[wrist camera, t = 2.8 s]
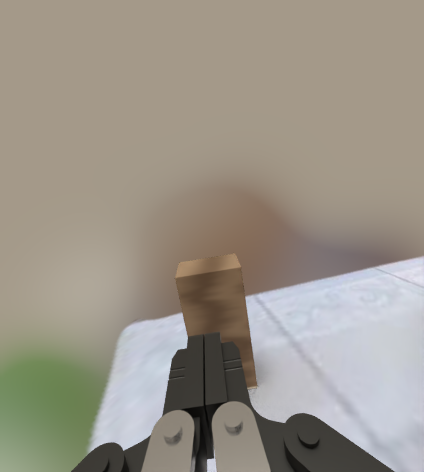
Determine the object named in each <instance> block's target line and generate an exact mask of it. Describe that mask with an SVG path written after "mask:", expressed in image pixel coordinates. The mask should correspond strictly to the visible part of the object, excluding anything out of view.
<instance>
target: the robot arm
mask: <svg viewBox="0 0 424 472" xmlns="http://www.w3.org/2000/svg"><path fill="white" fill-rule="evenodd" d="M213 445H214V446H213ZM214 450H215V459H216V468H217V472H394V471H393V470H391V469H390V468H389V467H387V466H386V465H384V464H383V463H381V462H380V461H379V460H377V459H376V458H374V457H373V456H371V455H370V454H369V453H367V452H366V451H364V450H363V449H361V448H360V447H359V446H357V445H356V444H354V443H353V442H351V441H350V440H349V439H347V438H346V437H344V436H343V435H341V434H340V433H339V432H337V431H336V430H334V429H333V428H331V427H330V426H329V425H327V424H326V423H324V422H323V421H321V420H320V419H318V418H317V417H315V416H313V415H310V414H305V413H299V414H295V415H293V416H291V417H290V418H289V419H288V420H287V421H286V423H280V422H275V421H271V420H268V419H265V418H264V417H262V416H260V415H259V414H258V413H257V412H256V411H255V410H254V408H253V407H252V405H251V402H250V398H249V394H248V389H247V384H246V380H245V375H244V371H243V366H242V361H241V357H240V352H239V348H238V347H237V346H236V345H235V344H234V342H233V341H231V342H224V343H222V342H221V336H220V331H219V332H212V333H206V334H205V337H204V334H200V335H194V336H188V343H187V349H180V350H178V351H177V352H176V354H175V355H174V357H173V358H172V363H171V368H170V374H169V380H168V386H167V392H166V398H165V404H164V410H163V415H162V417H161V418H160V419H159V420H158V422H157V423H156V424H155V426H154V428H153V430H152V433H151V435H150V436H149V437H148V438H146V439H145V440H143V441H142V442H140V443H138V444H136V445H134V446H132V447H130V448H128V449H126V450H125V451H123V449H122V447H121V446H120V445H119V444H117V443H112V442H111V443H106V444H103V445H100V446H99V447H97V448H95V449H94V450H93V451H91V452H90V453H89V454H88V455H87V456H86V457H85V458H84V459H83V460H82V461H81V462H80V463H79V464H78V465H77V466H76V467H75V468H74V469H73V470H72V471H71V472H207V459H212V458H214Z"/></svg>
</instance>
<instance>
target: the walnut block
mask: <svg viewBox="0 0 424 472" xmlns="http://www.w3.org/2000/svg"><path fill="white" fill-rule="evenodd" d="M175 280H176V284H177V289H178V293H179V299H180V303H181V308H182V312H183V317H184V322H185V326H186V331H187V336H194V335H200V334H204V337H205V334H206V333H212V332H219V331H220V336H221V342H222V343H224V342H231V341H233V342H234V344H235V345H236V346H237V347H238V348H239V352H240V357H241V361H242V366H243V371H244V375H245V380H246V384H247V389H248V390H249V389H255V388H257V381H256V374H255V366H254V359H253V352H252V344H251V337H250V329H249V322H248V315H247V307H246V300H245V293H244V285H243V278H242V271H241V266H240V264H239V261H238V260H237V257H236V254H229V255H223V256H217V257H211V258H205V259H199V260H192V261H187V262H181V263H179V266H178V269H177V273H176V277H175Z"/></svg>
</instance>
